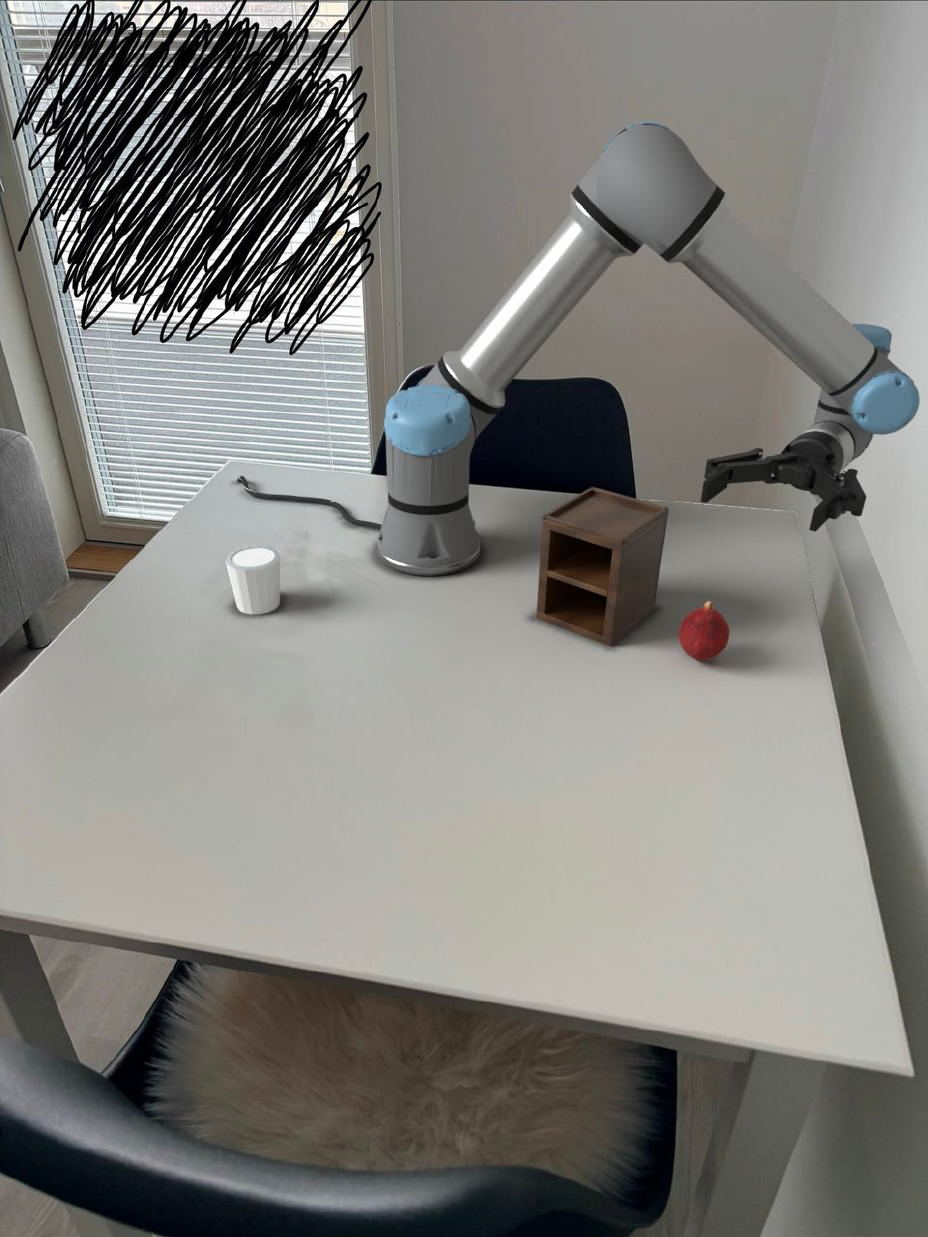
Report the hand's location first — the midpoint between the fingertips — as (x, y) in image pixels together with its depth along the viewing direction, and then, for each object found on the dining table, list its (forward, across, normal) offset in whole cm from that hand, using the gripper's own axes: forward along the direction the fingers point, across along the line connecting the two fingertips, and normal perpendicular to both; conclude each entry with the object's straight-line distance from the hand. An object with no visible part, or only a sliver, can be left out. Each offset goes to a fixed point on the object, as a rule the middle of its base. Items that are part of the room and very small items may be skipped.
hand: (757, 505), depth 105 cm
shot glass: (+35, +52, -16) cm, 65 cm away
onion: (+11, 0, -17) cm, 20 cm away
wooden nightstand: (+9, +16, -16) cm, 24 cm away
